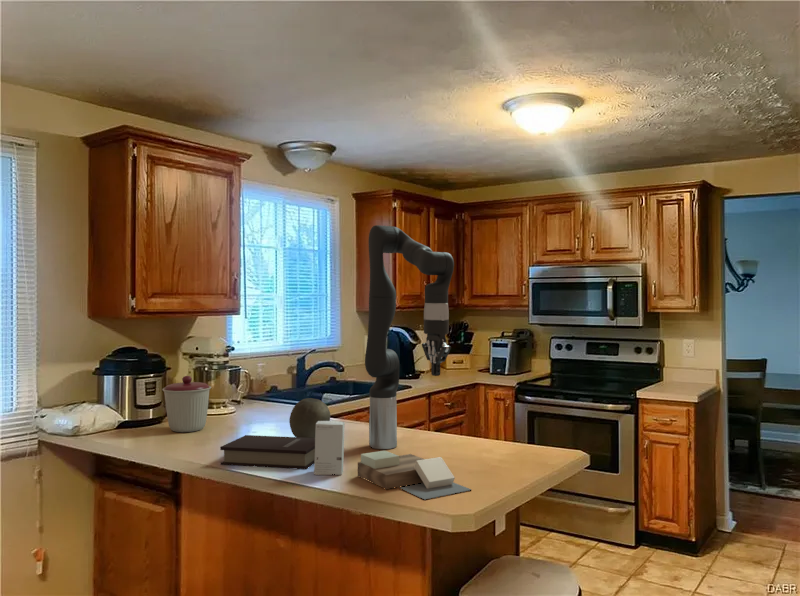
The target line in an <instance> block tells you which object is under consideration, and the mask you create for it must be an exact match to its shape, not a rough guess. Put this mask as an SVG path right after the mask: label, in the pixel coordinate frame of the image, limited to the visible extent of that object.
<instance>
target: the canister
mask: <svg viewBox="0 0 800 596" xmlns="http://www.w3.org/2000/svg"><path fill="white" fill-rule="evenodd" d="M181 379H182V382H177V383H176V382H175V383H170V384H168V385H166V386H165V387H163V388H162V391H163V392H164V393H163V394H164V401H165V409H166V417H167V423H168V427H169V429H170V430H171V431H172V432H175V433H193V432H196V431H201V430H203V429H204V428H205V427H206V422H207V418H208V409H209V399H210V390H211V389H212V385H209V384H207V383H206V382H199V381H192V380H193V378H192V377H191V376H190V375H185V376H183V377H182V378H181Z"/></svg>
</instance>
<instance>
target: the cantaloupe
mask: <svg viewBox="0 0 800 596" xmlns="http://www.w3.org/2000/svg"><path fill="white" fill-rule="evenodd" d="M318 421H331V412H330V409H329V407H328V405H327V404H326V403H325V402H323V401H322V400H320V399H319V398H312V397H310V398H309V397H308V398H303V399H300V400H299V401H298V402H297V403H295V405H294V407H292V410H291V412H290V414H289V427H290V430H291V433H292V435H293V437H302V438H315V429H316V423H317V422H318Z"/></svg>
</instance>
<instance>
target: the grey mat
mask: <svg viewBox="0 0 800 596" xmlns="http://www.w3.org/2000/svg"><path fill="white" fill-rule="evenodd" d="M399 488H401V489H403V490H405V491H407V492H406V493H408V492H409V493H408V494H410V493H411V494H410V495H412V494H413V495H412V496H414V495H415V496H414V497H416V496H417V497H416V498H418V497H419V499H421V498H422V499H421V500H423V499H424V500H423V501H427V500H426V499H429V500H432V499H431V498H434V499H437V498H436V497H438V498H441V497H440V496H443V497H446V495H448V496H452V495H451V494H453V495H456V494H455V493H458V494H461V493H460V492H463V493H467V492H466V491H468V492H471V491H470V490H472V489H471V488H468V487H466V486H463V485H460V484H459V483H456V482H454V481H453V484H452V485H446V486H440V487H434V488H429V489H427V488H426V486H425V485H424V483H421V484H415V485H410V486H405V487H399ZM401 489H400V490H401ZM403 490H402V491H403ZM405 491H404V492H405Z"/></svg>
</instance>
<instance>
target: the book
mask: <svg viewBox="0 0 800 596" xmlns="http://www.w3.org/2000/svg"><path fill="white" fill-rule="evenodd" d="M220 451H223V461H221V462H220V466H237V467H253V466H257V468H258V467H259V468H271V469H272V468H275V469H290V468H297V469H296V470H307V469H309V468H310V467H312V466H313V465H314V460H315V438H302V437H295V436H275V435H273V436H272V435H271V436H270V435H249V434H248V435H247V434H245V435H243V436H241V437H239V438H236V439H234V440H233V441H230V442H228V443H225V444H224V445H221V446H220ZM312 464H313V465H312ZM311 465H312V466H311ZM308 467H309V468H308Z"/></svg>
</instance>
